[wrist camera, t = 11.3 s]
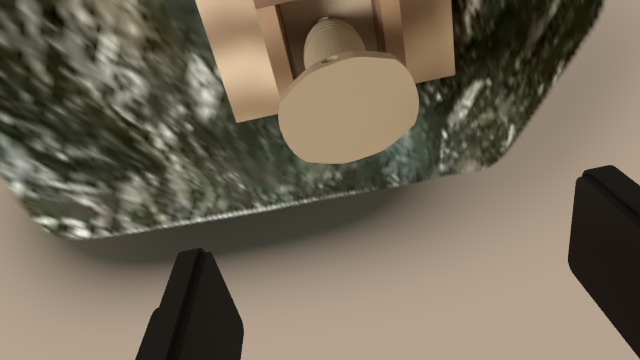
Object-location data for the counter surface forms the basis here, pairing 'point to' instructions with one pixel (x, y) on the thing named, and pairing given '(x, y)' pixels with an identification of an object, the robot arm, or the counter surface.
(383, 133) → the handle
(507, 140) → the counter surface
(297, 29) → the wooden box holder
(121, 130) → the counter surface
